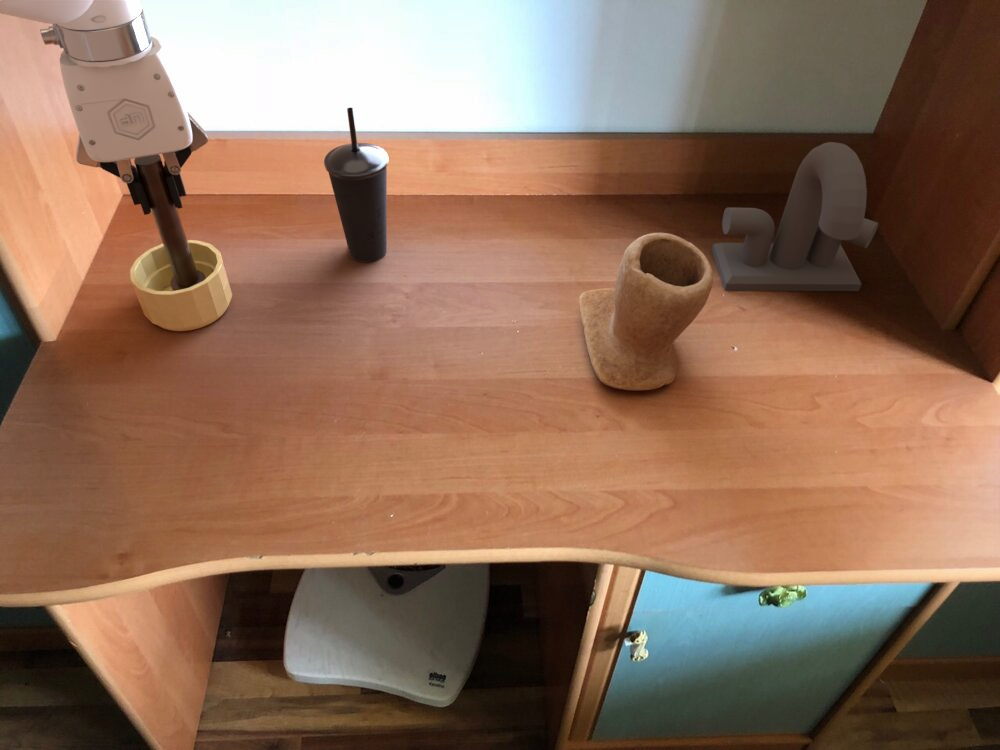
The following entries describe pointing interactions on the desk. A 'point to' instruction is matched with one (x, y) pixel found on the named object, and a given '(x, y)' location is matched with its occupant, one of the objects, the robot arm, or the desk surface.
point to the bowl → (186, 304)
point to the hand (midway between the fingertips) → (162, 203)
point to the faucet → (802, 230)
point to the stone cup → (645, 311)
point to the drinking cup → (360, 194)
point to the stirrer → (168, 222)
